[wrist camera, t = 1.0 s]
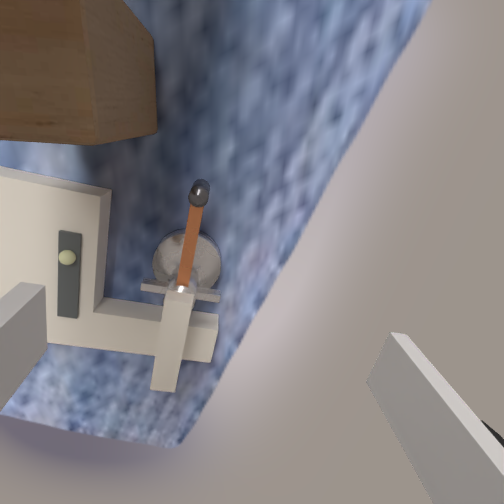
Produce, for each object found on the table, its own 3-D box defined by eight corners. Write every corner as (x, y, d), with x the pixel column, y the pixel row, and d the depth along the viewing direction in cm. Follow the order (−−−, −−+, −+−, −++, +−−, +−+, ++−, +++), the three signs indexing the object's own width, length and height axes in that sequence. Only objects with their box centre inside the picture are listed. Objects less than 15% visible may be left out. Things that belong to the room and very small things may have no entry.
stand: (-31, 159, 36) (-133, 175, 26) (241, 217, 42) (248, 249, 32) (-17, 314, 44) (-91, 374, 34) (211, 345, 50) (208, 404, 40)
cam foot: (213, 301, 47) (212, 340, 39) (148, 291, 45) (132, 329, 37) (240, 183, 40) (246, 199, 32) (166, 165, 39) (150, 178, 30)
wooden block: (55, 25, 32) (-161, -100, 14) (154, 35, 33) (72, -69, 15) (70, 128, 36) (-84, 135, 18) (158, 134, 37) (98, 146, 19)
